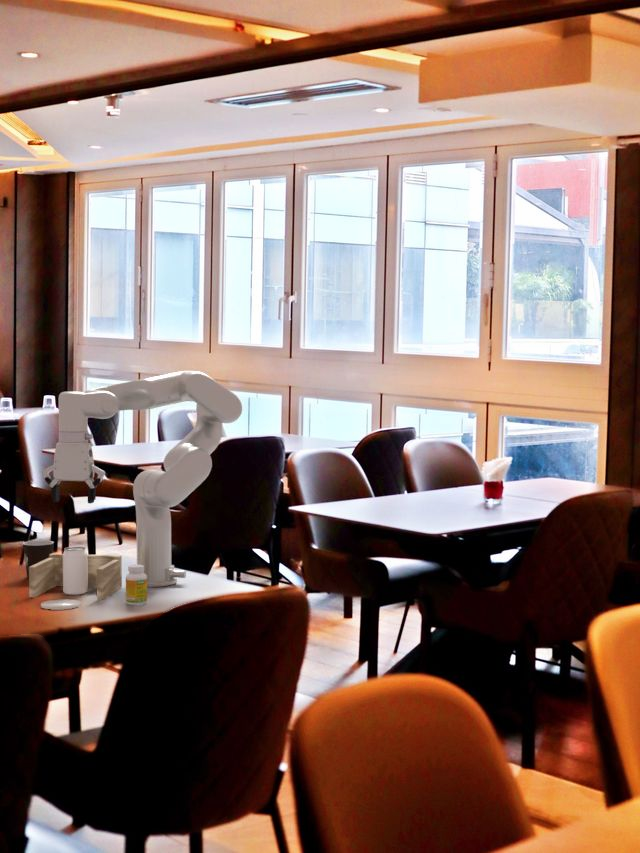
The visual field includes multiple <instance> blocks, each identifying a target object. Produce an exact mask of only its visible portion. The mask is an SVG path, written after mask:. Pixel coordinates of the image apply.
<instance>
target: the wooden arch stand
mask: <svg viewBox="0 0 640 853" xmlns="http://www.w3.org/2000/svg"><path fill="white" fill-rule="evenodd" d="M122 563H123V562H122V555H115V554H114V555H113V554H109V555H108V554H87V565H88V587H96V600H99V599H103V600H104V599H106V598H107V597H109V596H111V595H113V594H114V593H116V592H117V591H119V590H120V589H122V588H123V580H122V579H123V576H122V575H123V574H122V573H123V572H122V570H123V569H122V568H123V567H122ZM54 586H55V587H56V586H63V553H53V554H50V555H49V558H47V559H45V560H43V561H41V562H39V563H36V564H34V565H32V566H30V567H29V579H28V587H29V588H28V589H29V594H28V595H29V598H36V597H38V596H40V595H42V594H44V593H45V592H44V591H46V590H48V589H49V590H51V589H53V588H54ZM52 587H53V588H52ZM121 587H122V588H121ZM50 588H51V589H50ZM118 589H119V590H118ZM49 590H48V591H49ZM43 592H44V593H43ZM46 592H47V591H46ZM41 593H42V594H41Z"/></svg>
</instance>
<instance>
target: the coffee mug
mask: <svg viewBox="0 0 640 853" xmlns="http://www.w3.org/2000/svg"><path fill="white" fill-rule="evenodd" d="M54 544H55V542H54V541H52V540H43V539H42V540H29V541H28V540H27V541H24V542H22V548H23V557H24V562H25V569H26V570H25V571H26V577H27V578H28V579H27V580H29V567H30V566H32V565H34V564H36V563H39V562H41V561H43V560H45V559H47V558H49V555H50V554H54V546H55V545H54Z"/></svg>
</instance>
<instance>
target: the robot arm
mask: <svg viewBox="0 0 640 853" xmlns="http://www.w3.org/2000/svg"><path fill="white" fill-rule="evenodd" d="M182 402H193V403H196V422H195V425H194V426H193V429H192V430H191V431H190V432H189V433H187V435H186V436H185V437H184V438H182V439H181V440H180V441H178V443H177V444H176V445H175V446H173V447H172V448H171V449H170V450H169V451H168V452H167V453H166V455H165V456H164V459H163V468H164V470H165V471H164V470H159V469H153V468H152V469H146V470H144V471H142V472H140V473H139V474H137V476H136V478H135V479H134V481H133V485H132V491H133V492H132V493H133V498H134V504H135V505H134V506H135V518H136V519H135V520H136V565H144V571H143V573H144V574H146V575H147V588H148V587H149V588H156V587H168V586H172V585H175V584H177V583H178V578H179V579H186V577H187V571H186V570H182V569H181V570H180V569H179V570H177V569H175V565H174V564H172V516H171V515H172V514H171V510H170V508H173V507H176V506H178V505H180V503H181V502H183V501H184V500H185V499H187V498H188V496H189V495H190V494H191V493H192V492H194V491H195V490H196V489H197V488H198V487H199V486H200V485H202V483H203V482H204V481H205V480H206V479H207V478H208V477H209V475H210V473H211V471H212V468H213V460H212V456H211V455H212V453H213V452H214V451H215V450H216V449H217V448H218V446H219V444H220V442H221V440H222V433H223V424H232V423H235V422H237V420H238V419H240V417H241V415H242V413H243V404H242V402H241V399H240V398H239V397H238V396H237V395H236V394H235V393H234V392H233V391H231V390H229V389H228V388H227V387H225V386H224V385H222V384H220V383H219V382H218V381H217V380H215V379H214V378H212V377H211V376H210V375H208V374H206V373H205V372H201V371H197V370H196V371H195V370H180V371H175V372H170V373H167V374H166V373H165V374H161V375H156V376H151V377H146V378H142V379H136V380H130V381H126V382H122V383H115V384H111V385H110V384H109V385H105V386H99V387H96V388H95V387H94V388H91V389H87V390H84V391H62V392H60V394H59V395H58V442H57V443H55V444H56V445H55V449H54V454H53V455H54V456H53V464H51V465H49V466H48V467H46V468H44V469H42V470H41V475H42V477H43V478H44V481H45V482H46V484H48V486H49V487H50V489H51V490H50V491H51V494H50V495H51V496H50V498H51V500H52V503H59V502H60V495H61V494H60V490H61V489H60V486H59V484H60V483H61V482H63V481H64V482H65V481H66V482H85V483H86V484H87V485H88V488H87V503H88V504H93V503H95V500H96V495H97V493H96V490H97V487H98V486H99V485H100V484H101V483H102V482H103V480H104V477H105V475H106V471H105V470H103V469H101V468H99V467H98V466H96V465H95V461H94V452H93V447H92V443H91V442H89V440H93V437H94V435H93V433H89V431H88V428H89V427H88V425H89V424H88V422H89V420H88V419H89V418H92V419H93V418H94V419H100V420H104V419H105V420H107V419H111V418H112V417H114V416H115V415H116V414H117V413H118V412H120V411H121V412H122V411H145V410H153V409H157V408H161V407H165V406H170V405H174V404H179V403H182ZM50 472H52V474H53V476H52V477H53V478H52V477H51V476H50ZM95 474H97V477H96V479H95V480H94V478H95Z"/></svg>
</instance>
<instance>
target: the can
mask: <svg viewBox="0 0 640 853" xmlns="http://www.w3.org/2000/svg"><path fill="white" fill-rule="evenodd" d="M86 548H87V547H84V546H70V547H65V548H64V549H63V550H64V551H63V553H62V554H63V587H62V590H63V594H64V595H67V594H69V595H68V596H80V594H81V595H84V594H87V593H88V589H89V588H88V565H87V555H88V552H87V551H86ZM86 592H87V593H86Z"/></svg>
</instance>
